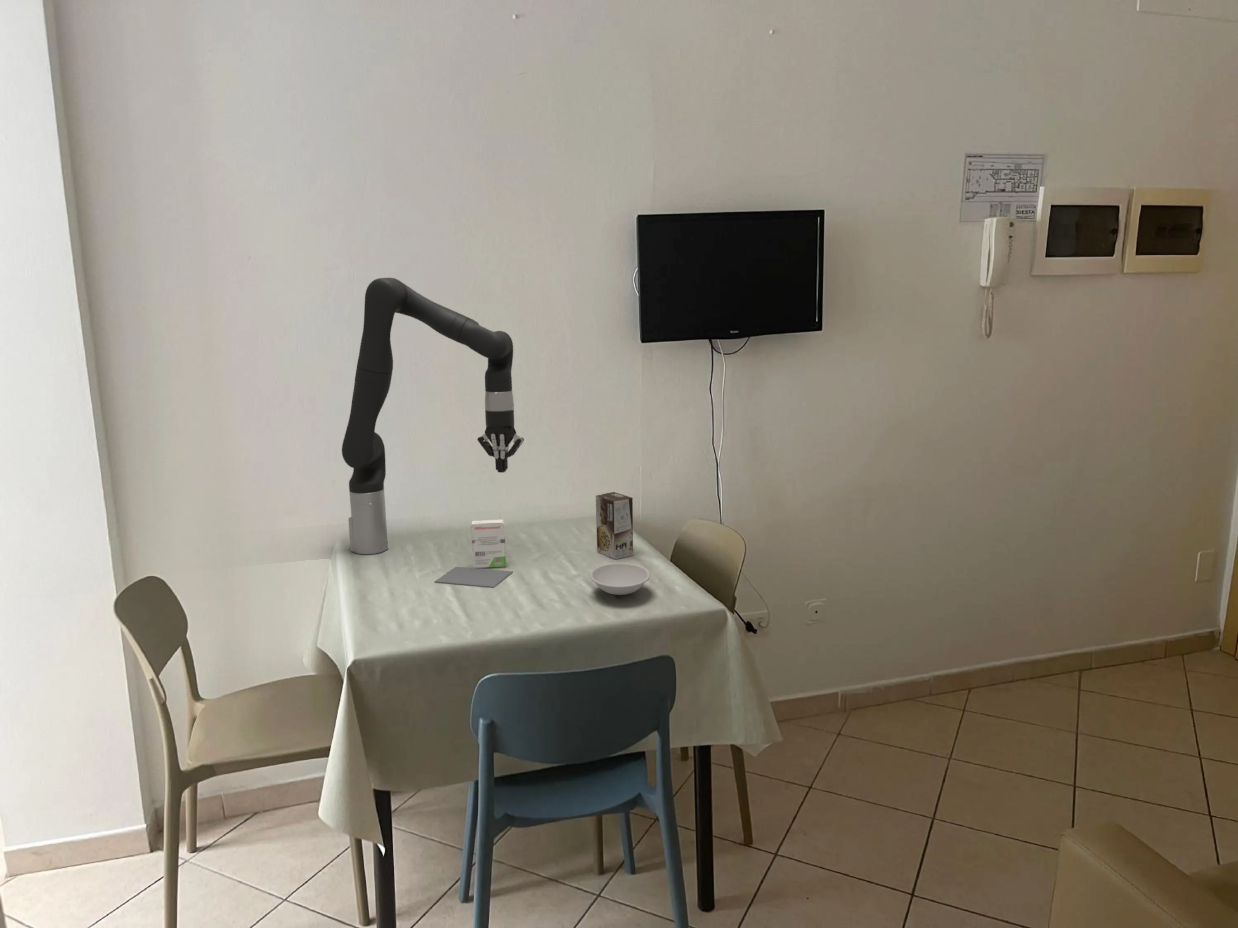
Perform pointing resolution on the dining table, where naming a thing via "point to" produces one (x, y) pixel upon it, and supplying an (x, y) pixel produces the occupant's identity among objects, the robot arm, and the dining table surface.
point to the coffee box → (614, 525)
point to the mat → (474, 577)
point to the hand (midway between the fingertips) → (502, 471)
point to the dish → (619, 577)
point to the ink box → (488, 543)
